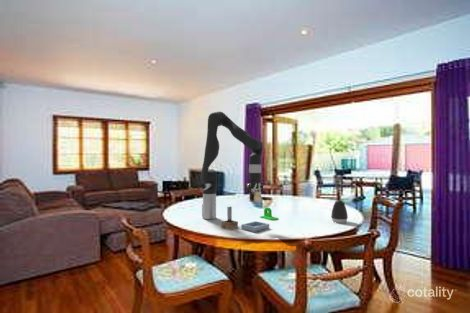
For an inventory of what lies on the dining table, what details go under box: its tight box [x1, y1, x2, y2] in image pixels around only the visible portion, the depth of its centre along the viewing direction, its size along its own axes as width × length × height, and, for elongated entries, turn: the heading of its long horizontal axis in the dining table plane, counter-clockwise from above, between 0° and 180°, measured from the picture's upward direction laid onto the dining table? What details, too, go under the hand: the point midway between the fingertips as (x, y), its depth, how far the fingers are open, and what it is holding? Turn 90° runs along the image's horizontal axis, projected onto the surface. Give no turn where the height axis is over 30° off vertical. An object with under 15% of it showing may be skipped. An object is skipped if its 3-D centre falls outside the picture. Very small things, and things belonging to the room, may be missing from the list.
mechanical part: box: [259, 207, 279, 221], centre depth 204 cm, size 12×6×8 cm, turn 39°
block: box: [248, 190, 262, 203], centre depth 177 cm, size 5×5×6 cm
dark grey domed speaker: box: [330, 199, 349, 224], centre depth 194 cm, size 10×10×15 cm
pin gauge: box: [226, 206, 233, 223], centre depth 180 cm, size 3×3×12 cm
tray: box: [240, 221, 270, 234], centre depth 177 cm, size 11×13×3 cm
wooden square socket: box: [221, 219, 239, 231], centre depth 180 cm, size 7×7×4 cm
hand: (255, 200), depth 177 cm, fingers closed on block, 5 cm apart
